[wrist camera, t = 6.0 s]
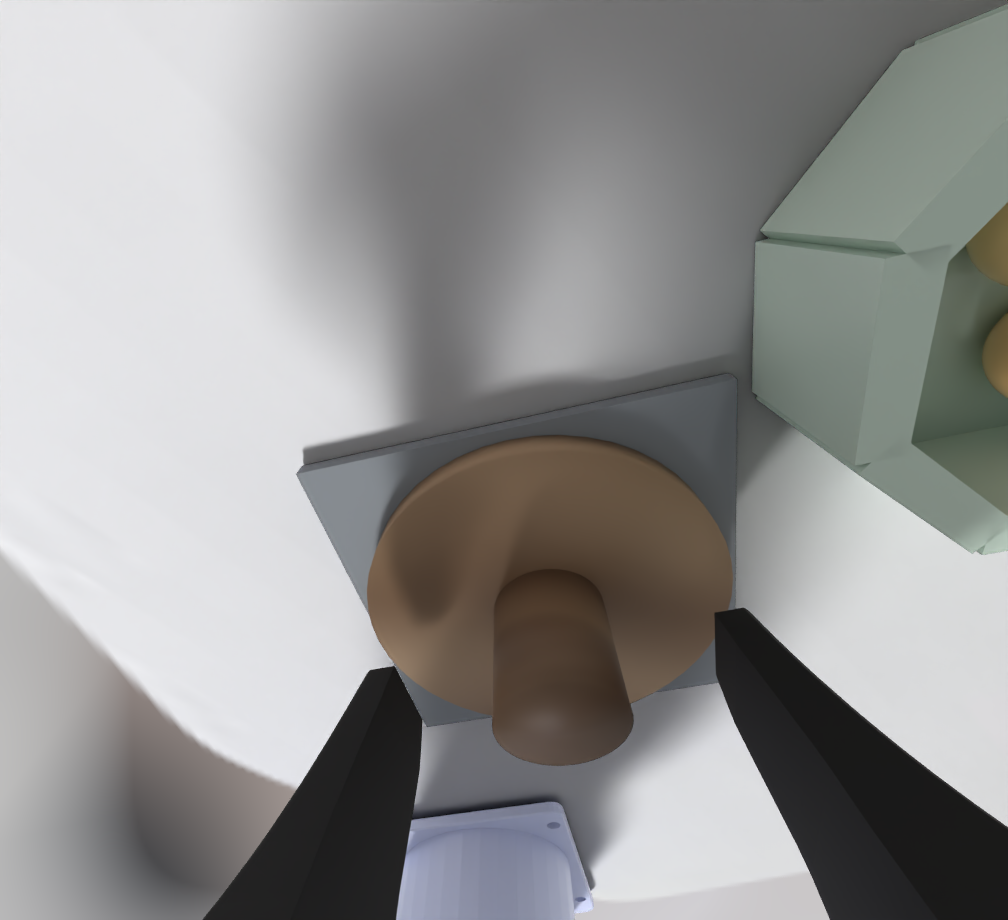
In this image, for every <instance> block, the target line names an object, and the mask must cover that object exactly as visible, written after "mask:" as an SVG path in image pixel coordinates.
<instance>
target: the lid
mask: <svg viewBox="0 0 1008 920" xmlns="http://www.w3.org/2000/svg"><path fill="white" fill-rule="evenodd" d="M732 586H733V571H732V561H731V557H730V553H729V550H728V547H727V543H726V541H725V539H724V537H723V535H722V533H721V531H720V529H719V527H718V525H717V523H716V522H715V520H714V519H713V517H712V516H711V515H710V513H709V512H708V510H707V509H706V507H705V506H704V504H703V503H702V502H701V500H700V499H699V498H698V496H697V495H696V494H695V492H694V491H693V490H692V488H691V487H689V486H688V485H687V484H686V483H685V482H684V481H683V480H682V479H681V478H680V477H679V476H678V475H677V474H676V473H674V472H673V471H671V470H670V469H668V468H667V467H666V466H664V465H663V464H661V463H660V462H658V461H657V460H655V459H653V458H651V457H649V456H647V455H645V454H643V453H641V452H639V451H637V450H634V449H631V448H628V447H625V446H622V445H619V444H616V443H613V442H609V441H604V440H599V439H594V438H589V437H581V436H568V435H545V436H530V437H524V438H517V439H511V440H506V441H502V442H499V443H495V444H492V445H488V446H485V447H481V448H479V449H476V450H474V451H472V452H469V453H467V454H464V455H462V456H460V457H457V458H456V459H454V460H452V461H450V462H449V463H447V464H445V465H444V466H442V467H440V468H438V469H437V470H435V471H434V472H433V473H431V474H430V475H429V476H428V477H426V478H425V479H424V480H422V481H421V482H420V483H419V484H417V485H416V486H415V487H414V488H413V489H412V491H411V492H410V493H409V494H408V495H407V496H406V497H405V498H404V499H403V500H402V501H401V503H400V504H399V505H398V507H397V508H396V510H395V511H394V512H393V514H392V515H391V517H390V518H389V520H388V522H387V525H386V527H385V529H384V531H383V533H382V535H381V537H380V540H379V543H378V546H377V548H376V551H375V554H374V557H373V560H372V564H371V567H370V571H369V575H368V584H367V602H368V611H369V615H370V619H371V623H372V626H373V628H374V631H375V633H376V635H377V638H378V640H379V642H380V643H381V645H382V647H383V648H384V650H385V651H386V653H387V654H388V656H389V657H390V658H391V659H392V660H393V662H394V663H395V664H396V665H397V666H398V667H399V669H400V670H402V671H403V672H404V673H405V674H406V675H407V676H408V677H409V678H411V679H412V680H413V681H414V682H416V683H417V684H418V685H420V686H421V687H423V688H424V689H426V690H427V691H429V692H430V693H432V694H434V695H436V696H438V697H440V698H442V699H443V700H445V701H448V702H450V703H453V704H455V705H457V706H460V707H462V708H465V709H469V710H472V711H475V712H478V713H482V714H487V715H491V716H492V729H493V734H494V737H495V738H496V740H497V742H498V743H499V744H500V746H501V747H502V748H503V749H505V750H506V751H507V752H509V753H510V754H512V755H513V756H515V757H517V758H520V759H522V760H525V761H528V762H531V763H536V764H541V765H552V766H565V765H575V764H580V763H585V762H589V761H592V760H595V759H598V758H600V757H602V756H605V755H607V754H608V753H610V752H612V751H613V750H615V749H616V748H618V747H619V746H620V745H621V744H622V743H623V742H624V741H625V740H626V739H627V737H628V736H629V734H630V732H631V730H632V727H633V713H632V709H631V705H630V703H633V702H636V701H638V700H640V699H642V698H644V697H646V696H648V695H650V694H652V693H654V692H656V691H657V690H659V689H661V688H662V687H664V686H666V685H667V684H669V683H670V682H672V681H673V680H674V679H676V678H677V677H678V676H680V675H681V674H682V673H684V672H685V671H686V670H687V669H688V668H689V667H690V666H691V665H692V664H694V663H695V662H696V661H697V660H698V659H699V658H700V656H701V655H702V654H703V653H704V652H705V650H706V649H707V648H708V647H709V646H710V644H711V643H712V641H713V640H714V638H715V618H714V613H715V612H721V611H727V610H728V608H729V604H730V600H731V597H732Z"/></svg>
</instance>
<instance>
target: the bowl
mask: <svg viewBox="0 0 1008 920" xmlns="http://www.w3.org/2000/svg"><path fill="white" fill-rule="evenodd" d="M760 231H761V232H762V233H763V234H764V235H766V236H767V237H768V238H769V239H765V240H761V241H757V242H755V278H754V320H753V362H752V392H753V393H755V394H756V395H757V397H756V398H755V399H757V400H758V401H760V402H761V403H762V404H764V405H765V406H766V407H768V408H769V409H770V410H772V411H773V412H774V413H776V414H777V415H778V416H780V417H781V418H782V419H784V420H785V421H786V422H788V423H789V424H791V425H792V426H793V427H795V428H796V429H797V430H799V431H800V432H801V433H803V434H804V435H805V436H807V437H808V438H809V439H811V440H812V441H813V442H815V443H816V444H818V445H819V446H820V447H822V448H823V449H824V450H826V451H827V452H828V453H830V454H831V455H832V456H834V457H835V458H836V459H838V460H839V461H840V462H842V463H843V464H844V465H846V466H847V467H849V468H850V469H851V470H853V471H854V472H855V473H857V474H858V475H859V476H861V477H862V478H864V479H865V480H867V481H868V482H869V483H871V484H872V485H874V486H875V487H877V488H878V489H880V490H881V491H882V492H884V493H885V494H887V495H888V496H890V497H891V498H892V499H894V500H895V501H897V502H898V503H900V504H901V505H903V506H904V507H905V508H907V509H908V510H910V511H911V512H913V513H914V514H916V515H917V516H918V517H920V518H921V519H923V520H924V521H926V522H927V523H928V524H930V525H931V526H933V527H934V528H936V529H937V530H939V531H940V532H941V533H943V534H944V535H946V536H947V537H949V538H950V539H952V540H953V541H954V542H956V543H957V544H959V545H960V546H962V547H963V548H964V549H966V550H967V551H969V552H970V553H974V552H975V551H977V552H978V553H980V554H981V555H986V554H992V553H997V552H1003V551H1008V4H1006V5H1004V6H1001V7H999V8H996V9H994V10H991V11H989V12H986V13H984V14H981V15H979V16H976V17H974V18H971V19H969V20H966V21H964V22H961V23H959V24H956V25H954V26H951V27H949V28H946V29H944V30H941V31H939V32H936V33H934V34H932V35H929V36H927V37H924V38H922V39H919V40H917V41H915V45H914V46H912V47H909V48H907V49H904V50H902V51H901V53H900V54H899V55H898V56H897V58H896V59H895V60H894V61H893V63H892V64H891V65H890V66H889V68H888V69H887V70H886V71H885V73H884V74H883V75H882V77H881V78H880V79H879V80H878V82H877V83H876V84H875V85H874V87H873V88H872V89H871V90H870V92H869V93H868V94H867V96H866V97H865V98H864V99H863V101H862V102H861V103H860V104H859V106H858V107H857V108H856V109H855V111H854V112H853V113H852V114H851V116H850V117H849V118H848V120H847V121H846V122H845V123H844V125H843V126H842V127H841V128H840V130H839V131H838V132H837V133H836V135H835V136H834V137H833V138H832V140H831V141H830V142H829V144H828V145H827V146H826V147H825V149H824V150H823V151H822V152H821V154H820V155H819V156H818V157H817V159H816V160H815V161H814V162H813V164H812V165H811V166H810V168H809V169H808V170H807V171H806V173H805V174H804V175H803V176H802V178H801V179H800V180H799V181H798V183H797V184H796V185H795V187H794V188H793V189H792V190H791V192H790V193H789V194H788V195H787V197H786V198H785V199H784V200H783V202H782V203H781V204H780V205H779V207H778V208H777V209H776V211H775V212H774V213H773V214H772V216H771V217H770V218H769V219H768V221H767V222H766V223H765V224H764V226H763V227H762V228H761V229H760Z"/></svg>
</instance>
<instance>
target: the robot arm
mask: <svg viewBox="0 0 1008 920" xmlns="http://www.w3.org/2000/svg"><path fill="white" fill-rule="evenodd" d="M714 618H715V663H716V676H717V679H718V681H719V684H720V687H721V689H722V692H723V694H724V697H725V700H726V702H727V705H728V707H729V710H730V712H731V715H732V717H733V720H734V722H735V724H736V726H737V728H738V730H739V732H740V734H741V736H742V738H743V740H744V742H745V744H746V746H747V748H748V750H749V752H750V754H751V756H752V758H753V760H754V762H755V764H756V766H757V768H758V770H759V772H760V774H761V776H762V778H763V780H764V782H765V784H766V786H767V787H768V789H769V791H770V793H771V795H772V797H773V799H774V801H775V803H776V805H777V807H778V809H779V811H780V813H781V815H782V817H783V819H784V821H785V823H786V825H787V826H788V828H789V830H790V832H791V834H792V836H793V838H794V840H795V842H796V844H797V846H798V848H799V850H800V852H801V855H802V857H803V859H804V861H805V863H806V865H807V867H808V869H809V871H810V874H811V876H812V878H813V880H814V883H815V885H816V887H817V890H818V892H819V895H820V897H821V899H822V902H823V904H824V906H825V909H826V911H827V913H828V915H829V918H830V920H1008V827H1007V826H1005V825H1004V824H1002V823H1001V822H1000V821H998V820H997V819H995V818H994V817H993V816H991V815H990V814H988V813H987V812H985V811H984V810H983V809H981V808H980V807H978V806H977V805H976V804H974V803H973V802H972V801H970V800H969V799H968V798H966V797H965V796H963V795H962V794H961V793H959V792H958V791H957V790H955V789H954V788H953V787H951V786H950V785H949V784H947V783H946V782H945V781H943V780H942V779H941V778H939V777H938V776H937V775H935V774H934V773H933V772H931V771H930V770H929V769H927V768H926V767H925V766H924V765H922V764H921V763H920V762H918V761H917V760H916V759H915V758H913V757H912V756H911V755H909V754H908V753H907V752H906V751H904V750H903V749H902V748H901V747H899V746H898V745H897V744H896V743H894V742H893V741H892V740H891V739H890V738H888V737H887V736H886V735H885V734H883V733H882V732H881V731H880V730H878V729H877V728H876V727H875V726H874V725H872V724H871V723H870V722H869V721H868V720H866V719H865V718H864V717H863V716H862V715H860V714H859V713H858V712H857V711H856V710H855V709H853V708H852V707H851V706H850V705H849V704H848V703H846V702H845V701H844V700H843V699H842V698H841V697H840V696H838V695H837V694H836V693H835V692H834V691H833V690H832V689H831V688H829V687H828V686H827V685H826V684H825V683H824V682H823V681H821V680H820V679H819V678H818V677H817V676H816V675H815V674H814V673H813V672H811V671H810V670H809V669H808V668H807V667H806V666H805V665H804V664H803V663H802V662H801V661H800V660H798V659H797V658H796V657H795V656H794V655H793V654H792V653H791V652H790V651H789V650H788V649H787V648H786V647H785V646H784V645H783V644H782V643H781V642H779V641H778V640H777V639H776V638H775V637H774V636H773V635H772V634H771V633H770V632H769V631H768V630H767V629H766V628H765V627H764V626H763V625H762V624H761V623H760V622H759V621H758V620H757V619H756V618H755V617H754V616H753V615H752V614H751V613H750V612H749V611H748V610H747V609H745V608H739V609H733V610H727V611H721V612H715V613H714ZM421 738H422V718H421V716H420V714H419V712H418V710H417V708H416V706H415V704H414V702H413V700H412V699H411V697H410V695H409V693H408V691H407V689H406V687H405V685H404V683H403V681H402V679H401V677H400V675H399V673H398V672H397V670H396V668H395V666H392V667H386V668H380V669H374V670H370V671H369V672H368V673H367V675H366V677H365V678H364V680H363V682H362V683H361V685H360V687H359V688H358V690H357V692H356V694H355V695H354V697H353V699H352V700H351V702H350V704H349V706H348V707H347V709H346V711H345V712H344V714H343V716H342V717H341V719H340V721H339V722H338V724H337V726H336V728H335V729H334V731H333V733H332V734H331V736H330V738H329V739H328V741H327V742H326V744H325V746H324V747H323V749H322V751H321V752H320V754H319V755H318V757H317V759H316V760H315V762H314V763H313V765H312V767H311V768H310V770H309V772H308V773H307V775H306V776H305V778H304V779H303V781H302V783H301V784H300V786H299V787H298V789H297V790H296V792H295V793H294V795H293V796H292V798H291V800H290V801H289V802H288V804H287V805H286V807H285V808H284V810H283V811H282V813H281V814H280V816H279V817H278V819H277V820H276V822H275V823H274V825H273V826H272V828H271V829H270V831H269V832H268V833H267V835H266V836H265V838H264V839H263V841H262V842H261V843H260V845H259V846H258V848H257V849H256V850H255V852H254V853H253V855H252V856H251V857H250V859H249V860H248V861H247V863H246V864H245V865H244V867H243V868H242V869H241V871H240V872H239V873H238V875H237V876H236V877H235V879H234V880H233V881H232V883H231V884H230V885H229V887H228V888H227V889H226V891H225V892H224V893H223V895H222V896H221V897H220V898H219V900H218V901H217V902H216V904H215V905H214V906H213V907H212V908H211V910H210V911H209V912H208V914H207V915H206V916H205V917H204V919H203V920H575V913H581V912H587V911H590V910H592V909H593V907H594V904H593V897H592V894H591V891H590V888H589V885H588V882H587V879H586V876H585V873H584V870H583V867H582V864H581V860H580V857H579V854H578V851H577V848H576V845H575V842H574V839H573V836H572V833H571V830H570V827H569V824H568V821H567V818H566V815H565V812H564V809H563V807H562V805H561V804H559V803H557V802H543V803H535V804H528V805H520V806H512V807H505V808H497V809H490V810H482V811H474V812H467V813H459V814H452V815H444V816H437V817H429V818H421V819H414V820H412V814H413V808H414V802H415V796H416V789H417V783H418V777H419V770H420V756H421Z"/></svg>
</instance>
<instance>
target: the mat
mask: <svg viewBox="0 0 1008 920" xmlns="http://www.w3.org/2000/svg"><path fill="white" fill-rule="evenodd" d="M545 435H568V436H581V437H589V438H594V439H599V440H604V441H609V442H613V443H616V444H619V445H622V446H625V447H628V448H631V449H634V450H637V451H639V452H641V453H643V454H645V455H647V456H649V457H651V458H653V459H655V460H657V461H658V462H660V463H661V464H663V465H664V466H666V467H667V468H668V469H670V470H671V471H673V472H674V473H676V474H677V475H678V476H679V477H680V478H681V479H682V480H683V481H684V482H685V483H686V484H687V485H688V486H689V487H691V488H692V490H693V491H694V492H695V494H696V495H697V496H698V498H699V499H700V500H701V502H702V503H703V504H704V506H705V507H706V509H707V510H708V512H709V513H710V515H711V516H712V517H713V519H714V520H715V522H716V523H717V525H718V527H719V529H720V531H721V533H722V535H723V537H724V539H725V541H726V543H727V547H728V550H729V553H730V557H731V561H732V571H733V586H732V597H731V600H730V604H729V608H728V610H733V609H735V581H736V453H737V379H736V378H735V377H734V376H732V375H731V374H729V373H727V374H722V375H718V376H713V377H709V378H704V379H699V380H695V381H690V382H686V383H681V384H676V385H672V386H667V387H663V388H658V389H653V390H649V391H644V392H640V393H635V394H630V395H626V396H621V397H617V398H612V399H607V400H603V401H598V402H594V403H589V404H584V405H580V406H575V407H571V408H566V409H561V410H557V411H552V412H548V413H543V414H538V415H534V416H529V417H525V418H520V419H515V420H511V421H506V422H502V423H497V424H492V425H488V426H483V427H479V428H474V429H469V430H465V431H460V432H456V433H451V434H446V435H442V436H437V437H433V438H428V439H423V440H419V441H414V442H410V443H405V444H400V445H396V446H391V447H387V448H382V449H377V450H373V451H368V452H364V453H359V454H354V455H350V456H345V457H341V458H336V459H331V460H327V461H322V462H318V463H313V464H308V465H304V466H302V467H301V468H300V470H299V471H298V472H297V474H296V475H297V477H298V479H299V481H300V483H301V485H302V487H303V489H304V490H305V492H306V494H307V496H308V498H309V500H310V502H311V504H312V506H313V508H314V510H315V512H316V514H317V516H318V517H319V519H320V521H321V523H322V525H323V527H324V529H325V531H326V533H327V535H328V537H329V539H330V541H331V543H332V545H333V546H334V548H335V550H336V552H337V554H338V556H339V558H340V560H341V562H342V564H343V566H344V568H345V570H346V572H347V574H348V575H349V577H350V579H351V581H352V583H353V585H354V587H355V589H356V591H357V593H358V595H359V597H360V599H361V601H362V603H363V604H364V606H365V608H366V610H367V612H368V614H369V611H368V602H367V584H368V575H369V571H370V567H371V564H372V560H373V557H374V554H375V551H376V548H377V546H378V543H379V540H380V537H381V535H382V533H383V531H384V529H385V527H386V525H387V522H388V520H389V518H390V517H391V515H392V514H393V512H394V511H395V510H396V508H397V507H398V505H399V504H400V503H401V501H402V500H403V499H404V498H405V497H406V496H407V495H408V494H409V493H410V492H411V491H412V489H413V488H414V487H415V486H416V485H417V484H419V483H420V482H421V481H422V480H424V479H425V478H426V477H428V476H429V475H430V474H431V473H433V472H434V471H435V470H437V469H438V468H440V467H442V466H444V465H445V464H447V463H449V462H450V461H452V460H454V459H456V458H457V457H460V456H462V455H464V454H467V453H469V452H472V451H474V450H476V449H479V448H481V447H485V446H488V445H492V444H495V443H499V442H502V441H506V440H511V439H517V438H524V437H530V436H545ZM369 616H370V615H369ZM394 664H395V663H394ZM395 666H396V668H397V670H398V672H399V674H400V676H401V678H402V680H403V682H404V684H405V686H406V688H407V689H408V691H409V693H410V695H411V697H412V699H413V701H414V703H415V705H416V707H417V709H418V711H419V713H420V715H421V717H422V718H423V720H424V722H425V724H426V726H427V727H431V726H437V725H444V724H450V723H457V722H463V721H470V720H476V719H483V718H490V717H492V716H491V715H487V714H482V713H478V712H475V711H472V710H469V709H465V708H462V707H460V706H457V705H455V704H453V703H450V702H448V701H445V700H443V699H442V698H440V697H438V696H436V695H434V694H432V693H430V692H429V691H427V690H426V689H424V688H423V687H421V686H420V685H418V684H417V683H416V682H414V681H413V680H412V679H411V678H409V677H408V676H407V675H406V674H405V673H404V672H403V671H402V670H400V669H399V667H398V666H397V665H396V664H395ZM713 683H719V681H718V679H717V676H716V663H715V638H714V640H713V641H712V643H711V644H710V646H709V647H708V648H707V649H706V650H705V652H704V653H703V654H702V655H701V656H700V658H699V659H698V660H697V661H696V662H695V663H694V664H692V665H691V666H690V667H689V668H688V669H687V670H686V671H685V672H684V673H682V674H681V675H680V676H678V677H677V678H676V679H674V680H673V681H672V682H670V683H669V684H667V685H666V686H664V687H662V688H661V689H659V690H657V691H656V692H660V691H667V690H673V689H680V688H686V687H693V686H700V685H706V684H713Z"/></svg>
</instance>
